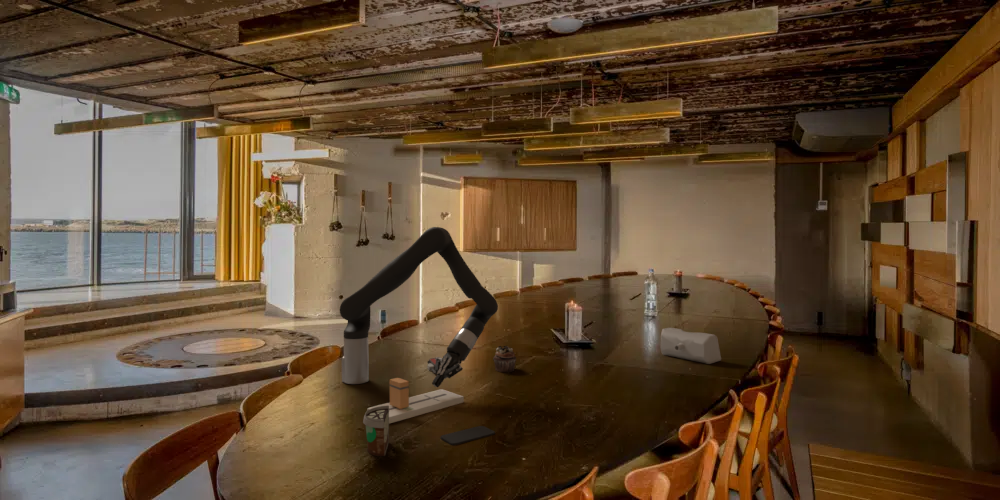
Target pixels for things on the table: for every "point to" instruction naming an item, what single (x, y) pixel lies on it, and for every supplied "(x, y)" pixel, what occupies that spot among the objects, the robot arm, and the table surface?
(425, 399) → the white slider board
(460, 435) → the phone
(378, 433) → the food container
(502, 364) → the cupcake
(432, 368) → the walkie-talkie
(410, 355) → the table surface
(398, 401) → the fader tab
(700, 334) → the grey faceted block
